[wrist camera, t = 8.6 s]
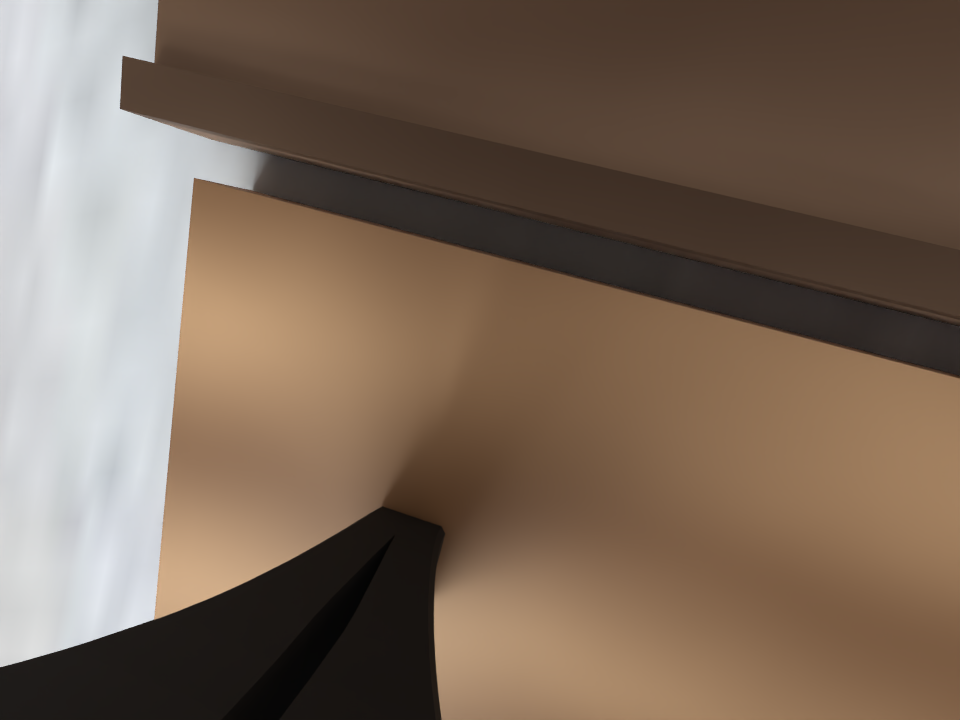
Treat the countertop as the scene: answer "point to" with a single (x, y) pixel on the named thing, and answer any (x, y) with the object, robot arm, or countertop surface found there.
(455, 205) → the countertop surface
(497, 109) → the walnut board
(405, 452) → the teak plank
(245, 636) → the robot arm
